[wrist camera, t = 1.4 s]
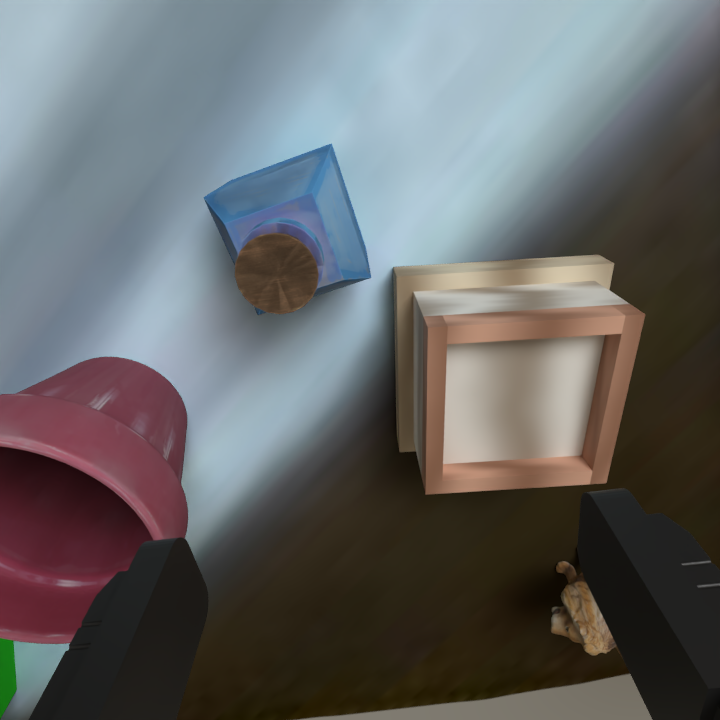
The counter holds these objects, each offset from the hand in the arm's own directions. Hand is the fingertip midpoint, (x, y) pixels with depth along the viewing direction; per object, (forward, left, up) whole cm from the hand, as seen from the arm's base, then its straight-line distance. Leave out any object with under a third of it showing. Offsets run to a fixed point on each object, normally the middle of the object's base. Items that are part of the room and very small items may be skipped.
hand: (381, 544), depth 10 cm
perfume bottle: (-3, +3, -23) cm, 23 cm away
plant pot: (-17, -10, -23) cm, 30 cm away
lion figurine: (+19, -31, -23) cm, 43 cm away
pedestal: (+9, -7, -23) cm, 26 cm away
